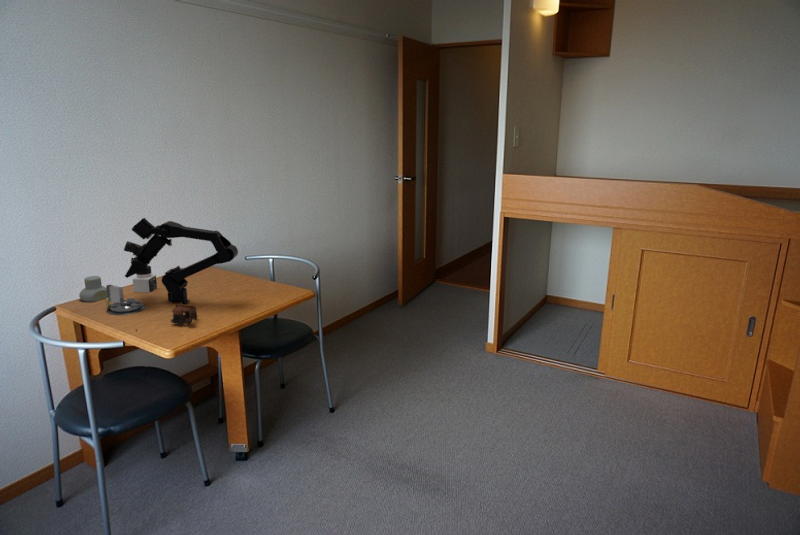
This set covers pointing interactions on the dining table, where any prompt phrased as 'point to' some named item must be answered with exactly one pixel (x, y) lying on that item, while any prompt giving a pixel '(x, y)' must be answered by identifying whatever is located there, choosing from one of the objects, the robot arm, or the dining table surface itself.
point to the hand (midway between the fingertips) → (125, 276)
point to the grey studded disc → (121, 300)
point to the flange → (121, 313)
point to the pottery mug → (180, 318)
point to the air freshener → (93, 290)
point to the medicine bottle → (144, 281)
